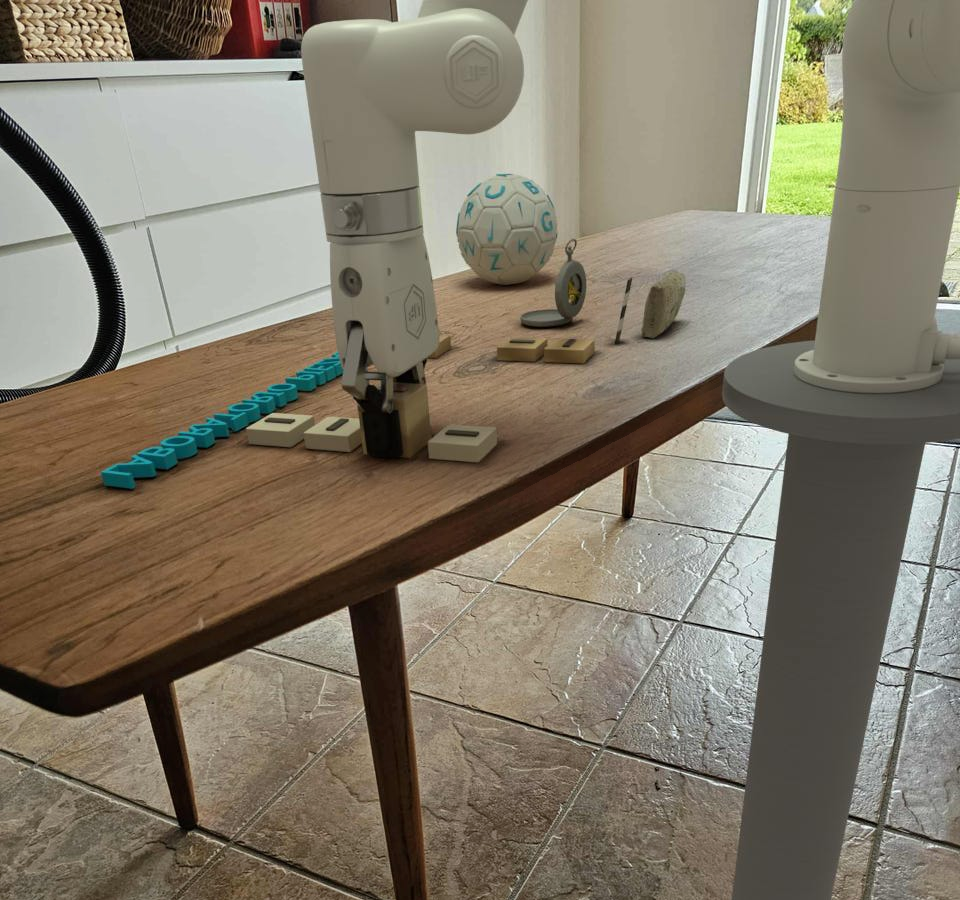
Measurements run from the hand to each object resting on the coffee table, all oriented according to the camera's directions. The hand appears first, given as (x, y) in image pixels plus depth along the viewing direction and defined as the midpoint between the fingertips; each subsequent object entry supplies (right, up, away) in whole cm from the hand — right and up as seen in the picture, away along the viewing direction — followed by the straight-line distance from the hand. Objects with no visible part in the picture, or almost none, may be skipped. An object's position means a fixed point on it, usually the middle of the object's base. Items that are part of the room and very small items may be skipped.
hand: (398, 443), depth 78 cm
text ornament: (-14, +7, +13) cm, 20 cm away
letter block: (0, 0, 0) cm, 0 cm away
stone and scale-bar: (+27, +19, +28) cm, 44 cm away
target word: (-3, 0, +1) cm, 3 cm away
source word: (+9, +15, +24) cm, 30 cm away
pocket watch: (+17, +23, +35) cm, 45 cm away
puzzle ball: (+12, +38, +60) cm, 72 cm away
